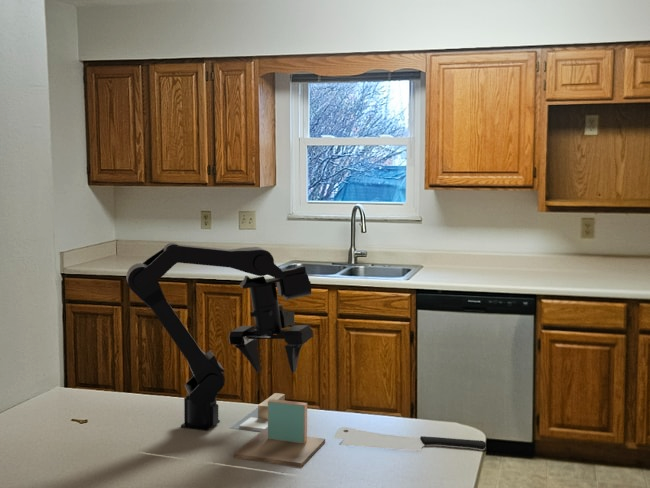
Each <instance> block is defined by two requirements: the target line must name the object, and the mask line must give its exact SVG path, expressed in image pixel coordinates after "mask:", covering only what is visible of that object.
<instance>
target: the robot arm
mask: <svg viewBox="0 0 650 488" xmlns="http://www.w3.org/2000/svg"><path fill="white" fill-rule="evenodd" d="M178 263H179V264H191V265H200V266H209V267H210V266H212V267H219V268H230V269H232V270H233V269H234V270H236V271H239V272H240V271H241V272H244V273H247V274H251V275H254V276H256V277H252V278H251V277H249V276H248V275H245V276H244V278H243V280H242V281H241V282H240V283H239V286H240V288H242V289H244V290H245V289H249V293H250V299H251V306H252V311H250V312H249V313H250V317H251V318H254V323H255V325H240V326H238V327H236V328H235V329H233V330H231V331H230V332H229V334H228V340H229V345H234V348H236V349H238V350H239V351H240V352H241V353H242V355H244V358H246V359H247V360H248V362H249V363H250V365H251V367H252V368H253V369H254V370H255V372H256V373H259V372H261V364H260V363H261V362H260V356H259V350H258V343H259V340H284V342H285V343H287V344H286V345H285V346H284V349H285V352H286V356H287V361H288V364H289V368H290V371H291V373H292V374H294V373H295V372H296V371H297V367H298V362H299V356H300V352H301V349H302V347H303V345H304V344H306V343H307V342H308V341H309V340H311V339H312V338H313V337H314V334H313V333H314V332H313V329H312V327H311V326H310V325H309V324H301V325H299V324H298V325H297V324H295V315H296V314H295V312H293V311H284V307H283V305H282V304H279V300H278V299H279V298H278V296H279V297H283V298H284V300H285V301H287V300H292V299H297V298H303V297H307V296H311V294H312V284H311V283H312V282H311V281H310V278H309V276H308V273H307V269H306V266H305V265H298V266H296V267H292V268H291V267H290V268H288V269H287V268H285V269H282V268H281V267H279V266H278V265H276V263H275V259H274V257H273V255H272V253H271V252H270V251H268V250H266V249H264V248H262V247H259V246H252V247H251V246H249V247H240V248H232V249H228V248H227V249H226V248H217V247H208V246H207V247H206V246H198V245H188V244H187V245H186V244H180V243H179V244H178V243H176V242H169V243H167V244H166V245H165V246H163V248H161V250H159V251H158V252H156V253H154V254H153V255H152V256H150V257H149V258H147V259H146V260H145V261H143V262H142V263H135V264H133V265H131V266H130V267H129V268H128V270H127V272H126V277H125V278H126V282H127V285H128V287H129V290H131V291H132V292H133V293H134V294H135V295H136V296H137V298H139V299H140V300H141V301H142V302H143V303H144V304H145V305H146V306H147V307H148V308H150V310H152V312H153V313H154V315H155V316H156V317H157V319H158V320H159V322H160V324H161V325H162V326H163V328H164V329H165V331H166V333H167V334H168V335H169V336H170V338H171V339H172V342H174V343H175V346H177V348H178V349H179V351H180V352H181V353H182V355H183V357H184V358H185V359H186V361H187V364H188V366H189V368H190V371H191V372H192V377H191V378H189V379H188V381H186V382H185V384H184V388H185V390H186V393H187V394H188V395H187V396H185V397H184V399H183V404H184V405H183V407H184V409H183V411H184V413H183V414H184V415H183V416H184V422H183V423H182V424H181V425H180V428H183V429H189V430H196V431H197V430H198V431H205V432H207V431H209V430H210V429H212V428H213V427H215V426H216V425H218V424H220V423H221V420H220V419H219V404H217V395H218V393H219V392H220V391H221V390H223V388H224V386H225V383H226V377H225V375H224V372H225V371H226V370H225V369H224V367H223V365H222V364H221V363H220V361H218V360H217V358H216V356H215V354H214V353H213V352H212V350H211V349H210V350H208V351H207V352H204V351H203V350H202V349H201V347H199V345H198V344H197V342H196V341H195V339H194V338H193V336H192V335H191V334H190V332H189V331H188V329H187V328H186V326H185V325H184V323H183V322H182V321H181V319H180V318H179V316H178V314H177V313H176V312H175V310H174V309H173V308H172V306H171V305H170V303H169V301H168V300H167V298H166V297H165V294H164V292H163V290H162V288H161V285H160V283H159V280H160V279H161V278H162V277H163V276H165V275H166V274H167V272H169V271H170V270H171V269H172V268H173V267H174V266H175V265H176V264H178ZM266 275H268V276H270V277H272V278H265V276H266ZM257 276H258V277H257ZM288 326H289V327H290V328H289V329H287V327H288Z"/></svg>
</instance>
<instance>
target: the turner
mask: <svg viewBox="0 0 650 488" xmlns="http://www.w3.org/2000/svg"><path fill="white" fill-rule="evenodd" d="M285 395H286V394H284V393H278V392H275V393H273V394H272V395H270V396H269V397H268V398H266V399H265V400H263V401H262V402H260V403H259V404H257V408H258V418H253V417H250V418H249V419H247V420H246V421H245V422H243V423H242V424H241V425H239V428H241V429H248V430H256V431H266V430H268V400H270V399H276V400H284V401H286V400H285V397H286V396H285ZM248 430H247V431H248Z"/></svg>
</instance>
